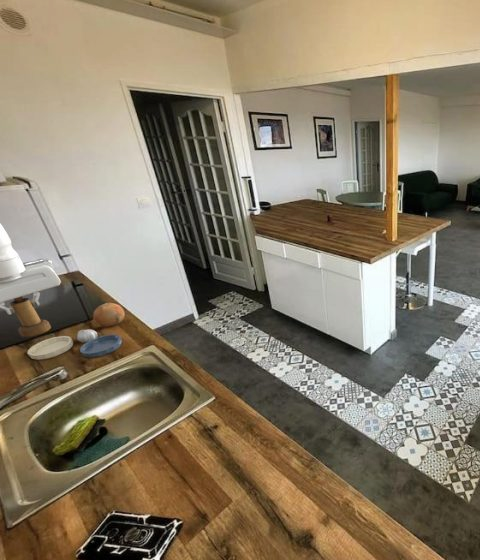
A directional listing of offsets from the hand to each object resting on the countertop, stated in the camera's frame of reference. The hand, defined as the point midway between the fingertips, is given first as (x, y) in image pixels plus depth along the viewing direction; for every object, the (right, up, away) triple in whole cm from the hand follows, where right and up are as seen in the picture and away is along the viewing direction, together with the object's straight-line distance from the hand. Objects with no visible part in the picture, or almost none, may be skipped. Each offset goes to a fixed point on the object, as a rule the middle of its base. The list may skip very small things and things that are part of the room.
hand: (24, 309), depth 95 cm
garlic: (-6, -15, +26) cm, 31 cm away
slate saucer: (+3, -17, +22) cm, 28 cm away
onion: (-5, -10, +37) cm, 38 cm away
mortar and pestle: (0, -7, +4) cm, 8 cm away
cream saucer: (-14, -17, +21) cm, 31 cm away
